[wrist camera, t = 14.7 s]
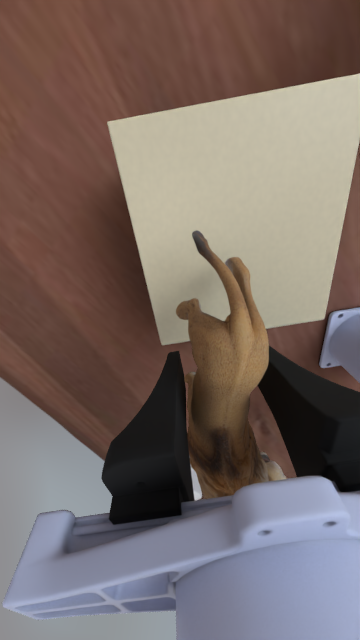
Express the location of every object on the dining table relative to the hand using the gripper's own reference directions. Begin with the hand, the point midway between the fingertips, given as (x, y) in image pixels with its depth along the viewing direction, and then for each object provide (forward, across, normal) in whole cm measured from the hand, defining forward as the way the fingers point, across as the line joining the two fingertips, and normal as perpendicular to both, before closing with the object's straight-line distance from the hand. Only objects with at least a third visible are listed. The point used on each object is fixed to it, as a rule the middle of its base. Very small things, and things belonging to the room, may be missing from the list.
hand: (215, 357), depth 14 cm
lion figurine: (+2, 0, 0) cm, 2 cm away
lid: (+4, -3, -6) cm, 8 cm away
